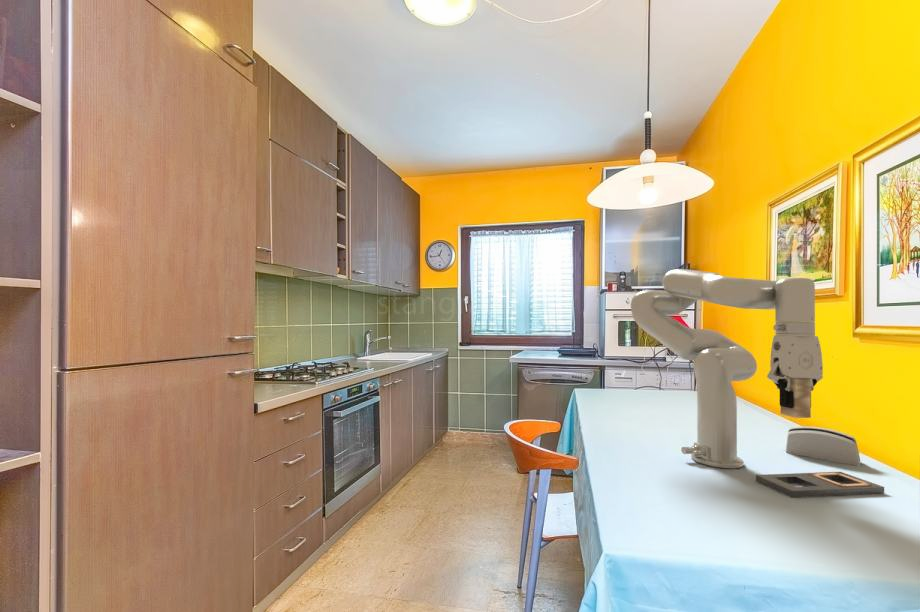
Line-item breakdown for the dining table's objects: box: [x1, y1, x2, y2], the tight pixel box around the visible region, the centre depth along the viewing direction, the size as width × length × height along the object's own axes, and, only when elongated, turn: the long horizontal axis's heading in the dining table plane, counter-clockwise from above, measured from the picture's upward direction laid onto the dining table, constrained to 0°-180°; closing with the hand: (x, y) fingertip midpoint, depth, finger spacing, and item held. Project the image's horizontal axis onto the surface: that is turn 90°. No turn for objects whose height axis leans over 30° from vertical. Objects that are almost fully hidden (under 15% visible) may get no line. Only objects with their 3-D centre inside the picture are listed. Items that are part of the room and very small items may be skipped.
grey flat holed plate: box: [755, 471, 885, 499], centre depth 103 cm, size 24×10×2 cm, turn 98°
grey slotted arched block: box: [785, 426, 861, 466], centre depth 126 cm, size 17×5×10 cm, turn 46°
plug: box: [780, 378, 812, 419], centre depth 103 cm, size 4×4×9 cm
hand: (795, 406), depth 103 cm, fingers closed on plug, 3 cm apart
